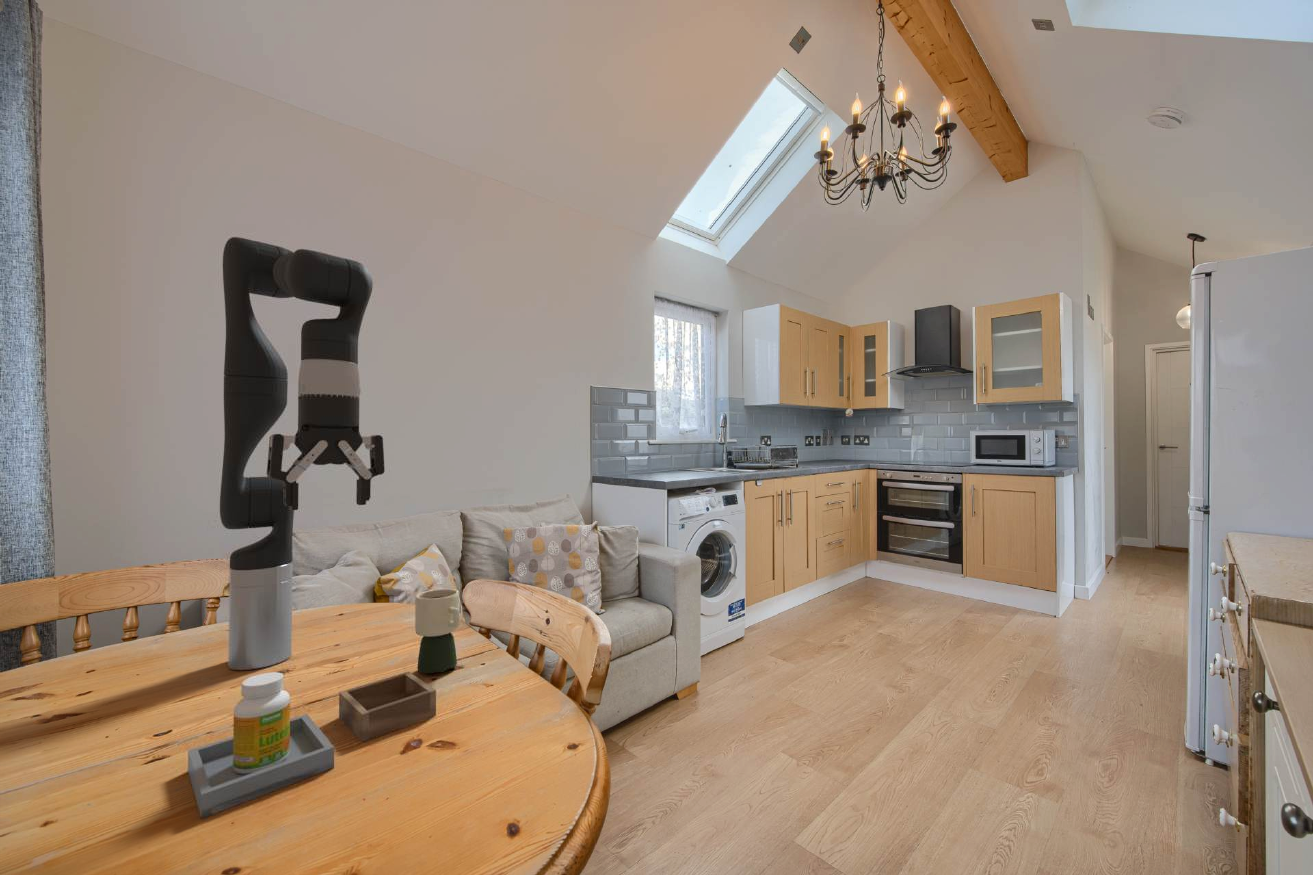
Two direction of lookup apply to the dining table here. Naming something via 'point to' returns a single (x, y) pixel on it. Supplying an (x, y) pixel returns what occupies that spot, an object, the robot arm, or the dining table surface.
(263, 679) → the supplement bottle
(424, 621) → the character mug
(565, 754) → the dining table surface
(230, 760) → the tray
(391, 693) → the holder
